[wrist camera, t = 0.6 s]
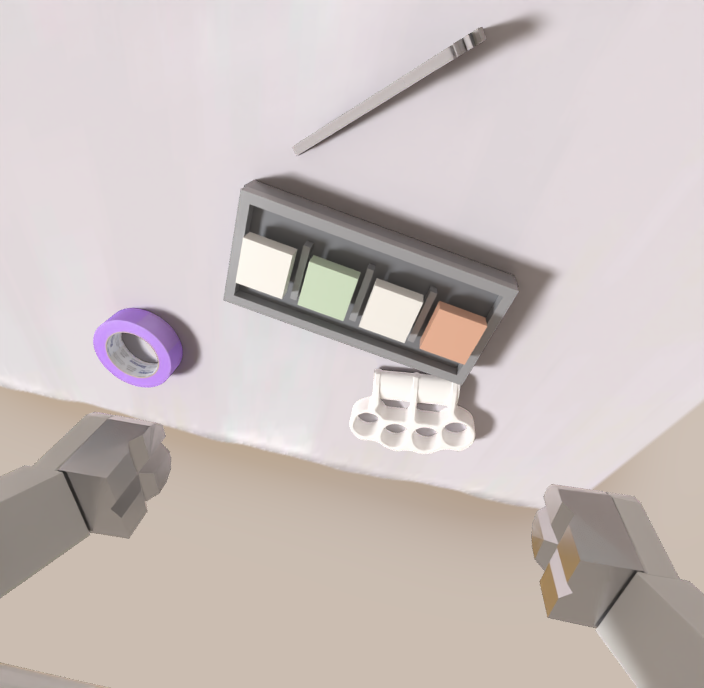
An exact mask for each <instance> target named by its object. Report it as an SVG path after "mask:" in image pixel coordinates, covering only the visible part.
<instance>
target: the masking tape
mask: <svg viewBox="0 0 704 688" xmlns="http://www.w3.org/2000/svg"><path fill="white" fill-rule="evenodd" d="M122 333H130V334H133V335H136V336H138V337H140V338H141V339H143V340H144V341H146V342H147V343H148V344H149V345H150V346H151V347H152V349H153V350H154V352H155V354H156V356H157V359H158V363H148V362H144V361H142V360H140V359H138V358H137V357H135V356H134V355H133V354H132V353H131V352H130V351H129V350H128V349H127V348H126V346H125V345H124V343H123V340H122ZM93 344H94V349H95V352H96V354H97V356H98V358H99V360H100V361H101V363H102V364H103V365H104V366H105V367H106V368H107V369H108V370H109V371H110V372H111V373H112V374H113V375H114V376H116V377H117V378H119V379H121V380H122V381H124V382H127V383H129V384H131V385H135V386H139V387H155V386H158V385H160V384H162V383H164V382H165V381H166V380H167V379H168V378H169V376H170V375H171V374H172V373H173V372H174V370H175V369H176V368H177V367H178V366H179V364H180V362H181V360H182V355H183V350H182V345H181V342H180V340H179V338H178V336H177V334H176V333H175V331H174V330H173V329H172V327H171V326H170V325H169V324H168V323H167V322H166V321H164V320H163V319H162V318H160V317H159V316H157V315H155V314H154V313H151V312H149V311H146V310H143V309H138V308H127V309H123V310H120V311H118V312H117V313H116V314H114V315H113V316H112V317H110V318H109V319H108V320H107V321H105V322H104V323H103V324H101V325H100V326H99V327H98V328H97V330H96V331H95V334H94V339H93Z"/></svg>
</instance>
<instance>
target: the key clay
mask: <svg viewBox="0 0 704 688" xmlns="http://www.w3.org/2000/svg"><path fill="white" fill-rule="evenodd" d="M486 328H487V322H486V318H485V317H483V316H480V315H477V314H474V313H472V312H469V311H466V310H463V309H461V308H458V307H455V306H452V305H450V304H447V303H444V302H441V301H439V302H438V304H437V306H436V308H435V310H434V312H433V315H432V317H431V319H430V321H429V323H428V325H427V327H426V329H425V331H424V333H423V335H422V337H421V339H420V349H422V350H425V351H427V352H430V353H433V354H436V355H439V356H441V357H444V358H447V359H450V360H452V361H455V362H458V363H461V364H464V365H465V363H466V362H467V360H468V358H469V357H470V355H471V353H472V352H473V350H474V348H475V346H476V345H477V343H478V341H479V340H480V338H481V336H482V335H483V333H484V331H485V329H486Z"/></svg>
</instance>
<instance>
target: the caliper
mask: <svg viewBox="0 0 704 688" xmlns="http://www.w3.org/2000/svg"><path fill="white" fill-rule="evenodd" d="M485 40H486V37H485V34H484V31H483V28H482V27H480V28H478V29H476V30H475V31H473V32H472V33H470V34H468V35H466V36H465V37H464V38H462V39H460V40H459V41H457V42H455V43H454V44H453V45H451V46H450V47H448V48H446V49H445V50H443V51H442V52H440V53H439V54H437V55H435V56H434V57H432V58H431V59H429V60H428V61H426V62H424V63H423V64H421V65H420V66H418V67H417V68H415V69H413V70H412V71H410V72H409V73H407V74H406V75H404V76H402V77H401V78H400V79H398V80H396V81H395V82H393V83H392V84H390V85H389V86H387V87H385V88H384V89H382V90H381V91H379V92H378V93H376V94H374V95H373V96H371V97H370V98H368V99H367V100H365V101H363V102H362V103H360V104H359V105H357V106H356V107H354V108H352V109H351V110H349V111H348V112H346V113H344V114H343V115H341V116H340V117H338V118H337V119H335V120H333V121H332V122H330V123H329V124H327V125H326V126H324V127H322V128H321V129H319V130H318V131H316V132H315V133H313V134H311V135H310V136H308V137H307V138H305V139H304V140H302V141H300V142H299V143H298V144H296V145H294V146H293V147H292V148H293V150H294V152H295V154H296V156H298V155H299V154H301V153H302V152H304V151H306V150H307V149H309V148H311V147H312V146H314V145H315V144H317V143H319V142H320V141H322V140H324V139H325V138H327V137H328V136H330V135H332V134H333V133H335V132H337V131H338V130H340V129H341V128H343V127H345V126H346V125H348V124H350V123H351V122H353V121H354V120H356V119H358V118H359V117H361V116H363V115H364V114H366V113H367V112H369V111H371V110H372V109H374V108H376V107H377V106H379V105H380V104H382V103H384V102H385V101H387V100H389V99H390V98H392V97H393V96H395V95H397V94H398V93H400V92H402V91H403V90H405V89H406V88H408V87H410V86H411V85H413V84H415V83H416V82H418V81H419V80H421V79H423V78H424V77H426V76H428V75H429V74H431V73H432V72H434V71H436V70H437V69H439V68H441V67H442V66H444V65H445V64H447V63H449V62H450V61H452V60H454V59H455V58H457V57H459V56H460V55H462V54H463V53H465V52H467V51H468V50H470V49H471V48H473V47H475V46H476V45H478V44H480V43H481V42H483V41H485Z"/></svg>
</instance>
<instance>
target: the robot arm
mask: <svg viewBox="0 0 704 688" xmlns="http://www.w3.org/2000/svg"><path fill="white" fill-rule="evenodd" d="M165 436H166V435H165V432H164V429H163V425H161V424H158V423H155V422H149V421H144V420H138V419H133V418H127V417H122V416H116V415H115V416H114V415H109V414H104V413H98V412H93V413H90V414H87V415H86V416H84V418H83V419H81V420H80V421H79V422H78V423H77V424H76V425H75V426H74V427H73V428H72V429H71V430H70V431H69V432H68V433H66V434H65V436H63V437H62V438H61V439H60V440H59V441H58V442H57V443H56V444H55V445H54V446H53V447H52V448H51V449H50V450H49V451H47V452H46V453H45V454H44V455H43V456H42V457H41V458H40V459H39V460H38V461H37V462H36V463H35V464H34V465H33V466H22V467H20V468H18V469H16V470H13V471H11V472H9V473H7V474H4V475H2V476H0V598H2V597H3V596H4V595H6V594H7V593H9V592H10V591H11V590H13V589H14V588H16V587H17V586H18V585H20V584H21V583H23V582H24V581H26V580H27V579H28V578H30V577H31V576H32V575H34V574H36V573H37V572H38V571H40V570H41V569H42V568H44V567H45V566H47V565H48V564H50V563H51V562H53V561H54V560H55V559H57V558H58V557H60V556H61V555H62V554H64V553H65V552H67V551H68V550H70V549H71V548H72V547H74V546H75V545H77V544H78V543H79V542H81V541H82V540H84V539H85V538H86V537H88V536H89V535H90V533H96V534H103V535H109V536H116V537H122V538H128V539H129V538H130V536H131V535H132V533H133V532H134V530H135V529H136V527H137V526H138V524H139V523H140V521H141V520H142V519H143V517H144V516H145V514H146V512H147V501H148V500H149V499H151V498H152V497H154V496H156V495H158V494H159V493H160V491H161V490H162V488H163V487H164V485H165V484H166V482H167V479H168V476H169V473H170V470H171V456H170V452H169V450H168V449H167V448H166V447H165V446H164V445H163V444H162V443H161V442H162V441H163V439H164V438H165ZM543 497H544V501H545V505H546V506H545V507H544V508H542V509H540V510H538V511H537V512H536V515H535V518H534V520H533V525H532V534H531V538H532V549H533V554H534V558H535V560H536V561H537V563H538V564H539V565H540V566H541V567H542V569H543V570H544V571H545V572H544V574H543V576H542V578H541V580H540V586H541V590H542V595H543V599H544V604H545V608H546V612H547V617H548V618H551V619H556V620H561V621H565V622H570V623H574V624H579V625H584V626H588V627H593V628H597V629H596V632H597V633H598V635H599V636H600V638H601V639H602V640H603V642H604V643H605V644H606V646H607V647H608V649H609V650H610V651H611V653H612V654H613V655H614V657H615V658H616V659H617V661H618V662H619V664H620V665H621V666H622V668H623V669H624V670H625V672H626V673H627V675H628V676H629V677H630V679H631V680H632V682H633V683H634V684H635V686H636V687H637V688H704V594H703V593H702V592H701V591H700V590H699V589H698V588H696V587H695V586H694V585H693V584H692V583H691V582H690V581H687V580H682V579H680V578H679V576H678V574H677V573H676V571H675V569H674V567H673V565H672V563H671V561H670V559H669V557H668V555H667V553H666V551H665V549H664V547H663V545H662V543H661V541H660V539H659V537H658V536H657V534H656V532H655V530H654V528H653V526H652V524H651V522H650V520H649V518H648V516H647V514H646V512H645V510H644V508H643V506H642V504H641V503H640V501H639V500H638V499H637V498H636V497H635V496H630V495H623V494H616V493H609V492H603V491H597V490H590V489H583V488H576V487H569V486H562V485H555V484H551V485H550V486H549V487H548V488H547V490H546V492H545V494H544V496H543ZM89 532H90V533H89ZM0 688H109V687H105V686H100V685H96V684H92V683H87V682H83V681H79V680H74V679H70V678H66V677H61V676H57V675H53V674H48V673H44V672H40V671H35V670H31V669H27V668H22V667H18V666H14V665H9V664H5V663H1V662H0Z"/></svg>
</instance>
